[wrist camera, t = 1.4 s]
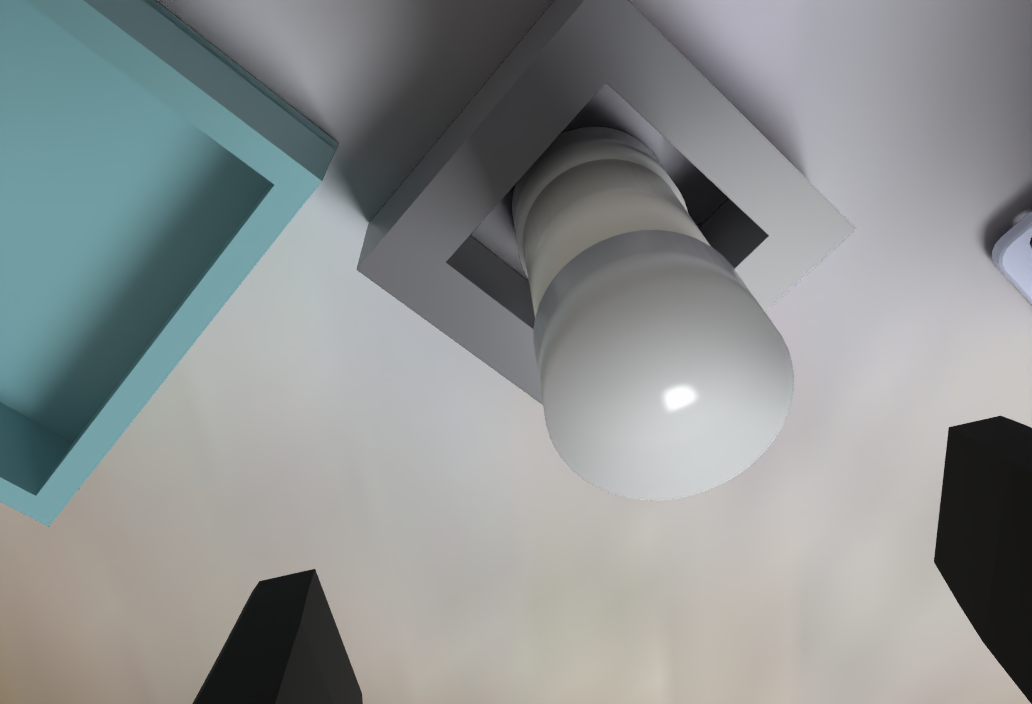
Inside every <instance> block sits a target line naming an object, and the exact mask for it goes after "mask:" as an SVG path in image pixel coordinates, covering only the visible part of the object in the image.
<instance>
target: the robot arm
mask: <svg viewBox="0 0 1032 704" xmlns="http://www.w3.org/2000/svg"><path fill="white" fill-rule="evenodd" d="M1031 237H1032V211H1031V212H1030V213H1029V214H1027V215H1026V216H1025V217H1024V218H1023V219H1022V220H1020V221H1019V222H1018V223H1017V224H1016V225H1015V226H1013V227H1012V228H1011V229H1010V230H1009V231H1008V232H1006V233H1005V234H1004V235H1003V236H1002V237H1001V238H1000V239H999V240H998V241H997V242H996V244H995V246H994V248H993V251H992V260H993V262H994V264H995V266H996V267H997V268H998V269H999V270H1000V271H1001V272H1002V273H1003V274H1004V276H1005V277H1006V278H1007V279H1008V280H1009V281H1010V282H1011V283H1012V284H1013V285H1014V286H1015V287H1016V288H1017V290H1018V291H1019V292H1020V293H1021V294H1022V295H1023V296H1024V297H1025V298H1026V299H1027V300H1028V301H1029V302H1030V304H1031V305H1032V244H1030V240H1031ZM934 563H935V564H936V566H937V568H938V569H939V571H940V573H941V574H942V576H943V578H944V580H945V581H946V583H947V585H948V586H949V588H950V590H951V591H952V593H953V595H954V597H955V598H956V600H957V602H958V603H959V605H960V607H961V608H962V610H963V611H964V613H965V614H966V616H967V618H968V619H969V621H970V622H971V624H972V625H973V627H974V629H975V630H976V632H977V633H978V635H979V636H980V638H981V640H982V641H983V642H984V644H985V645H986V646H987V648H988V649H989V650H990V652H991V653H992V654H993V655H994V657H995V658H996V659H997V661H998V662H999V663H1000V665H1001V666H1002V667H1003V668H1004V670H1005V671H1006V672H1007V673H1008V675H1009V676H1010V677H1011V678H1012V680H1013V681H1014V682H1015V684H1016V685H1017V686H1018V687H1019V689H1020V690H1021V691H1022V692H1023V694H1024V695H1025V696H1026V697H1027V699H1028V700H1029V701H1030V703H1031V704H1032V428H1031V427H1028V426H1026V425H1023V424H1021V423H1018V422H1016V421H1013V420H1011V419H1008V418H1005V417H1003V416H998V417H993V418H989V419H984V420H980V421H975V422H971V423H966V424H962V425H957V426H953V427H949V431H948V440H947V449H946V458H945V467H944V476H943V485H942V494H941V503H940V512H939V521H938V530H937V539H936V548H935V557H934ZM193 704H363V702H362V693H361V690H360V687H359V685H358V682H357V679H356V677H355V674H354V671H353V669H352V666H351V663H350V661H349V658H348V655H347V653H346V650H345V647H344V645H343V642H342V639H341V637H340V634H339V631H338V629H337V626H336V623H335V621H334V618H333V615H332V613H331V610H330V608H329V605H328V602H327V600H326V597H325V594H324V592H323V589H322V586H321V584H320V581H319V578H318V576H317V573H316V570H315V569H313V570H308V571H304V572H299V573H295V574H290V575H286V576H281V577H277V578H272V579H268V580H263V581H259V583H258V584H257V586H256V587H255V588H254V590H253V591H252V593H251V595H250V597H249V599H248V601H247V603H246V605H245V606H244V608H243V610H242V612H241V614H240V616H239V618H238V620H237V622H236V624H235V626H234V627H233V629H232V631H231V633H230V635H229V637H228V639H227V641H226V643H225V645H224V647H223V648H222V650H221V652H220V654H219V656H218V658H217V660H216V662H215V663H214V665H213V667H212V669H211V671H210V673H209V674H208V676H207V678H206V680H205V682H204V684H203V685H202V687H201V689H200V691H199V693H198V695H197V696H196V698H195V700H194V702H193Z"/></svg>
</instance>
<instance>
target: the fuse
mask: <svg viewBox="0 0 1032 704" xmlns="http://www.w3.org/2000/svg"><path fill="white" fill-rule="evenodd" d="M512 213H513V220H514V227H515V233H516V239H517V245H518V252H519V257H520V261H521V264H522V267H523V270H524V272H525V274H526V276H527V278H528V280H529V286H530V291H531V297H532V303H533V309H534V314H535V323H534V329H533V343H534V351H535V357H536V364H537V370H538V376H539V382H540V389H541V395H542V401H543V407H544V413H545V420H546V425H547V429H548V432H549V435H550V438H551V441H552V443H553V445H554V447H555V449H556V451H557V452H558V454H559V455H560V457H561V458H562V459H563V461H564V462H565V463H566V464H567V465H568V466H569V467H570V468H571V470H572V471H574V472H575V473H576V474H577V475H578V476H580V477H581V478H582V479H583V480H585V481H587V482H588V483H590V484H592V485H593V486H595V487H597V488H599V489H602V490H604V491H606V492H608V493H612V494H615V495H618V496H622V497H627V498H632V499H639V500H669V499H676V498H683V497H687V496H691V495H695V494H698V493H701V492H704V491H707V490H710V489H712V488H714V487H716V486H719V485H721V484H723V483H725V482H727V481H728V480H730V479H732V478H733V477H735V476H737V475H738V474H740V473H741V472H742V471H744V470H745V469H746V468H748V467H749V466H750V465H751V464H752V463H754V462H755V461H756V460H757V459H758V458H759V457H760V456H761V455H762V454H763V453H764V452H765V450H766V449H767V448H768V447H769V446H770V444H771V443H772V442H773V440H774V439H775V437H776V436H777V434H778V433H779V431H780V429H781V427H782V425H783V423H784V421H785V419H786V417H787V414H788V411H789V408H790V405H791V400H792V394H793V382H794V375H793V367H792V361H791V357H790V354H789V351H788V348H787V346H786V344H785V342H784V340H783V338H782V336H781V334H780V333H779V332H778V330H777V329H776V327H775V326H774V324H773V323H772V322H771V320H770V319H769V317H768V316H767V314H766V313H765V312H764V310H763V309H762V307H761V306H760V305H759V303H758V302H757V300H756V299H755V297H754V296H753V295H752V293H751V292H750V290H749V289H748V287H747V286H746V285H745V283H744V282H743V280H742V279H741V278H740V276H739V275H738V273H737V272H736V270H735V269H734V268H733V266H732V265H731V264H730V263H729V262H728V261H727V260H726V258H725V257H724V256H723V255H722V254H720V253H719V252H718V251H716V250H715V249H714V248H712V247H711V246H710V244H709V243H708V242H707V240H706V239H705V237H704V236H703V234H702V233H701V231H700V230H699V228H698V227H697V225H696V224H695V223H694V221H693V220H692V218H691V217H690V215H689V214H688V210H687V207H686V204H685V201H684V199H683V197H682V195H681V193H680V191H679V190H678V188H677V187H676V185H675V184H674V183H673V181H672V180H671V178H670V177H669V175H668V174H667V173H666V171H665V170H664V168H663V167H662V166H661V164H660V163H659V161H658V160H657V158H656V157H655V156H654V154H653V153H652V152H651V151H650V150H649V149H648V148H647V147H646V146H645V145H644V144H643V143H642V142H640V141H639V140H638V139H636V138H634V137H633V136H631V135H629V134H627V133H624V132H622V131H619V130H616V129H612V128H606V127H584V128H578V129H574V130H570V131H567V132H565V133H562V134H560V135H559V136H558V137H557V138H556V139H555V140H554V141H553V142H552V143H551V145H550V146H549V147H548V148H547V149H546V150H545V151H544V152H543V153H542V155H541V156H540V157H539V158H538V159H537V160H536V161H535V162H534V164H533V165H532V166H531V167H530V168H529V169H528V170H527V171H526V173H525V174H524V175H523V176H522V177H521V178H520V179H519V180H518V182H517V183H516V185H515V189H514V193H513V200H512Z"/></svg>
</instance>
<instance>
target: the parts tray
mask: <svg viewBox="0 0 1032 704" xmlns="http://www.w3.org/2000/svg"><path fill="white" fill-rule="evenodd" d="M338 144H339V143H337V142H336V141H335V140H333V139H332V138H331V137H330V136H328V135H327V134H326V133H324V132H323V131H322V130H321V129H319V128H318V127H317V126H316V125H314V124H313V123H312V122H310V121H309V120H308V119H307V118H305V117H304V116H303V115H301V114H300V113H299V112H298V111H296V110H295V109H294V108H293V107H291V106H290V105H289V104H287V103H286V102H285V101H284V100H282V99H281V98H280V97H278V96H277V95H276V94H275V93H273V92H272V91H271V90H270V89H268V88H267V87H266V86H264V85H263V84H262V83H261V82H259V81H258V80H257V79H255V78H254V77H253V76H252V75H250V74H249V73H248V72H247V71H245V70H244V69H243V68H241V67H240V66H239V65H238V64H236V63H235V62H234V61H232V60H231V59H230V58H229V57H227V56H226V55H225V54H224V53H222V52H221V51H220V50H218V49H217V48H216V47H215V46H213V45H212V44H211V43H209V42H208V41H207V40H206V39H204V38H203V37H202V36H201V35H199V34H198V33H197V32H195V31H194V30H193V29H192V28H190V27H189V26H188V25H186V24H185V23H184V22H183V21H181V20H180V19H179V18H178V17H176V16H175V15H174V14H172V13H171V12H170V11H169V10H167V9H166V8H165V7H163V6H162V5H161V4H160V3H158V2H157V1H156V0H0V502H2V503H4V504H6V505H8V506H10V507H11V508H13V509H15V510H17V511H19V512H21V513H23V514H25V515H27V516H29V517H31V518H33V519H35V520H37V521H39V522H41V523H42V524H44V525H46V526H48V527H49V526H50V525H51V523H52V522H53V521H54V520H55V518H56V517H57V516H58V514H59V513H60V512H61V511H62V509H63V508H64V507H65V506H66V504H67V503H68V502H69V501H70V499H71V498H72V497H73V496H74V494H75V493H76V492H77V490H78V489H79V488H80V487H81V485H82V484H83V483H84V482H85V480H86V479H87V478H88V477H89V475H90V474H91V473H92V471H93V470H94V469H95V468H96V466H97V465H98V464H99V463H100V461H101V460H102V459H103V458H104V456H105V455H106V454H107V452H108V451H109V450H110V449H111V447H112V446H113V445H114V444H115V442H116V441H117V440H118V439H119V437H120V436H121V435H122V433H123V432H124V431H125V430H126V428H127V427H128V426H129V425H130V423H131V422H132V421H133V420H134V418H135V417H136V416H137V414H138V413H139V412H140V411H141V409H142V408H143V407H144V406H145V404H146V403H147V402H148V401H149V399H150V398H151V397H152V395H153V394H154V393H155V392H156V390H157V389H158V388H159V387H160V385H161V384H162V383H163V382H164V380H165V379H166V378H167V376H168V375H169V374H170V373H171V371H172V370H173V369H174V368H175V366H176V365H177V364H178V363H179V361H180V360H181V359H182V357H183V356H184V355H185V354H186V352H187V351H188V350H189V349H190V347H191V346H192V345H193V344H194V342H195V341H196V340H197V338H198V337H199V336H200V335H201V333H202V332H203V331H204V330H205V328H206V327H207V326H208V325H209V323H210V322H211V321H212V319H213V318H214V317H215V316H216V314H217V313H218V312H219V311H220V309H221V308H222V307H223V306H224V304H225V303H226V302H227V301H228V299H229V298H230V297H231V295H232V294H233V293H234V292H235V290H236V289H237V288H238V287H239V285H240V284H241V283H242V282H243V280H244V279H245V278H246V276H247V275H248V274H249V273H250V271H251V270H252V269H253V268H254V266H255V265H256V264H257V263H258V261H259V260H260V259H261V257H262V256H263V255H264V254H265V252H266V251H267V250H268V249H269V247H270V246H271V245H272V244H273V242H274V241H275V240H276V238H277V237H278V236H279V235H280V233H281V232H282V231H283V230H284V228H285V227H286V226H287V225H288V223H289V222H290V221H291V219H292V218H293V217H294V216H295V214H296V213H297V212H298V211H299V209H300V208H301V207H302V206H303V204H304V203H305V202H306V200H307V199H308V198H309V197H310V195H311V194H312V193H313V192H314V190H315V189H316V188H317V187H318V185H319V184H320V183H321V181H322V180H323V177H324V175H325V173H326V171H327V169H328V166H329V164H330V162H331V160H332V157H333V155H334V153H335V151H336V149H337V146H338Z"/></svg>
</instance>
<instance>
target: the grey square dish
mask: <svg viewBox="0 0 1032 704" xmlns="http://www.w3.org/2000/svg"><path fill="white" fill-rule="evenodd" d="M605 83H607V84H608V85H609V86H610V87H611V88H612V89H613V90H614V91H616V92H617V93H618V94H619V95H620V96H621V97H622V98H623V99H624V100H625V101H626V102H627V103H628V104H629V105H630V106H632V107H633V108H634V109H635V110H636V111H637V112H638V113H639V114H640V115H641V116H642V117H643V118H644V119H645V120H646V121H647V122H649V123H650V124H651V125H652V126H653V127H654V128H655V129H656V130H657V131H658V132H659V133H660V134H661V135H662V136H663V137H665V138H666V139H667V140H668V141H669V142H670V143H671V144H672V145H673V146H674V147H675V148H676V149H677V150H678V151H679V152H681V153H682V154H683V155H684V156H685V157H686V158H687V159H688V160H689V161H690V162H691V163H692V164H693V165H694V166H695V167H696V168H698V169H699V170H700V171H701V172H702V173H703V174H704V175H705V176H706V177H707V178H708V179H709V180H710V181H711V182H712V183H714V184H715V185H716V186H717V187H718V188H719V189H720V190H721V191H722V192H723V193H724V194H725V195H726V196H727V197H728V198H729V199H728V200H727V201H726V202H725V203H724V204H723V205H721V206H720V207H719V208H718V209H717V210H716V211H715V212H714V213H713V214H712V215H711V216H710V217H709V218H708V219H707V220H706V221H705V222H704V223H703V224H702V225H701V226H700V227H699V230H700V231H701V233H702V234H703V236H704V237H705V239H706V240H707V242H708V243H709V244H710V246H711V247H712V248H714V249H715V250H716V251H718V252H719V253H720V254H722V255H723V256H724V257H725V258H726V260H727V261H728V262H729V263H730V264H731V265H732V266H733V268H734V269H735V270H736V272H737V273H738V275H739V276H740V278H741V279H742V280H743V282H744V283H745V285H746V286H747V287H748V289H749V290H750V292H751V293H752V295H753V296H754V297H755V299H756V300H757V302H758V303H759V305H760V306H761V307H762V309H763V310H764V312H766V311H767V310H768V309H770V308H771V307H772V306H773V305H774V304H775V303H776V302H777V301H778V300H779V299H780V298H782V297H783V296H784V295H785V294H786V293H787V292H788V291H789V290H790V289H791V288H792V287H794V286H795V285H796V284H797V283H798V282H799V281H800V280H801V279H802V278H803V277H804V276H806V275H807V274H808V273H809V272H810V271H811V270H812V269H813V268H814V267H815V266H816V265H818V264H819V263H820V262H821V261H822V260H823V259H824V258H825V257H826V256H827V255H828V254H830V253H831V252H832V251H833V250H834V249H835V248H836V247H837V246H838V245H839V244H840V243H842V242H843V241H844V240H845V239H846V238H847V237H848V236H849V235H850V234H851V233H852V232H854V231H855V230H856V229H857V228H856V227H855V226H854V225H853V224H852V223H851V222H850V221H849V220H848V219H847V218H846V217H845V216H844V215H843V214H842V213H841V212H840V211H839V210H838V209H837V208H836V207H835V206H834V205H833V204H832V203H831V202H830V201H829V200H828V199H827V198H826V197H825V196H824V195H823V194H822V193H821V192H820V191H819V190H818V189H817V188H816V187H814V186H813V185H812V184H811V183H810V182H809V181H808V180H807V179H806V178H805V177H804V176H803V175H802V174H801V173H800V172H799V171H798V170H797V169H796V168H795V167H794V166H793V165H792V164H791V163H790V162H789V161H788V160H787V159H786V158H785V157H784V156H783V155H782V154H781V153H780V152H779V151H778V150H777V149H776V148H775V147H774V146H773V145H772V144H771V143H770V142H769V141H768V140H767V139H766V138H765V137H764V136H763V135H762V134H761V133H760V132H759V131H758V130H757V129H756V128H755V127H754V126H753V125H752V124H751V123H750V122H749V121H748V120H747V119H746V118H745V117H744V116H743V115H742V114H741V113H740V112H739V111H738V110H737V109H736V108H735V107H734V106H733V105H732V104H731V103H730V102H729V101H728V100H727V99H726V98H725V97H724V96H723V95H722V94H721V93H720V92H719V91H718V90H717V89H716V88H715V87H714V86H713V85H712V84H711V83H710V82H709V81H708V80H707V79H706V78H705V77H704V76H703V75H702V74H701V73H700V72H699V71H698V70H697V69H696V68H695V67H694V66H693V65H692V64H691V63H690V62H689V61H688V60H687V59H686V58H685V57H684V56H683V55H682V54H681V53H680V52H679V51H678V50H677V49H676V48H675V47H674V46H673V45H672V44H671V43H670V42H669V41H668V40H667V39H666V38H665V37H664V36H663V35H662V34H661V33H660V32H659V31H658V30H657V29H656V28H655V27H654V26H653V25H652V24H651V23H650V22H649V21H648V20H647V19H646V18H645V17H644V16H643V15H642V14H641V13H640V12H639V11H638V10H637V9H636V8H635V7H634V6H633V5H632V4H631V3H630V2H629V1H628V0H554V1H553V2H552V4H551V5H550V6H549V7H548V8H547V10H546V11H545V12H544V13H543V14H542V16H541V17H540V18H539V19H538V20H537V22H536V23H535V24H534V25H533V26H532V28H531V29H530V30H529V31H528V32H527V34H526V35H525V36H524V37H523V38H522V40H521V41H520V42H519V43H518V44H517V46H516V47H515V48H514V49H513V50H512V52H511V53H510V54H509V55H508V56H507V58H506V59H505V60H504V61H503V62H502V64H501V65H500V66H499V67H498V69H497V70H496V71H495V72H494V73H493V75H492V76H491V77H490V78H489V79H488V81H487V82H486V83H485V84H484V85H483V87H482V88H481V89H480V90H479V91H478V93H477V94H476V95H475V96H474V97H473V99H472V100H471V101H470V102H469V103H468V105H467V106H466V107H465V108H464V109H463V111H462V112H461V113H460V114H459V115H458V117H457V118H456V119H455V120H454V121H453V123H452V124H451V125H450V126H449V127H448V129H447V130H446V131H445V132H444V133H443V135H442V136H441V137H440V138H439V139H438V141H437V142H436V143H435V144H434V145H433V147H432V148H431V149H430V150H429V151H428V153H427V154H426V155H425V156H424V157H423V159H422V160H421V161H420V162H419V163H418V165H417V166H416V167H415V168H414V169H413V171H412V172H411V173H410V174H409V176H408V177H407V178H406V179H405V180H404V182H403V183H402V184H401V185H400V186H399V188H398V189H397V190H396V191H395V192H394V194H393V195H392V196H391V197H390V198H389V200H388V201H387V202H386V203H385V204H384V206H383V207H382V208H381V209H380V210H379V212H378V213H377V214H376V215H375V216H374V218H373V219H372V220H371V221H370V222H369V224H368V228H367V231H366V235H365V239H364V243H363V247H362V251H361V254H360V258H359V262H358V266H357V270H358V271H359V272H360V273H362V274H363V275H365V276H366V277H367V278H369V279H370V280H371V281H373V282H374V283H376V284H377V285H378V286H380V287H381V288H382V289H384V290H385V291H387V292H388V293H389V294H391V295H392V296H393V297H395V298H396V299H398V300H399V301H400V302H402V303H403V304H405V305H406V306H407V307H409V308H410V309H411V310H413V311H414V312H416V313H417V314H418V315H420V316H421V317H422V318H424V319H425V320H427V321H428V322H429V323H431V324H432V325H433V326H435V327H436V328H438V329H439V330H440V331H442V332H443V333H444V334H446V335H447V336H449V337H450V338H451V339H453V340H454V341H455V342H457V343H458V344H460V345H461V346H462V347H464V348H465V349H467V350H468V351H469V352H471V353H472V354H473V355H475V356H476V357H478V358H479V359H480V360H482V361H483V362H484V363H486V364H487V365H489V366H490V367H491V368H493V369H494V370H495V371H497V372H498V373H500V374H501V375H502V376H504V377H505V378H506V379H508V380H509V381H511V382H512V383H513V384H515V385H516V386H517V387H519V388H520V389H522V390H523V391H524V392H526V393H527V394H528V395H530V396H531V397H533V398H534V399H535V400H537V401H538V402H540V403H541V404H542V405H543V401H542V395H541V389H540V382H539V376H538V370H537V364H536V357H535V351H534V343H533V329H534V323H535V314H534V309H533V303H532V297H531V291H530V286H529V281H527V280H526V279H525V278H524V277H522V276H521V275H520V274H519V273H517V272H516V271H515V270H513V269H512V268H511V267H510V266H508V265H507V264H506V263H505V262H503V261H502V260H501V259H500V258H498V257H497V256H496V255H494V254H493V253H492V252H491V251H489V250H488V249H487V248H486V247H484V246H483V245H482V244H481V243H479V242H478V241H477V240H475V239H474V238H473V237H472V236H470V234H471V233H472V232H473V231H474V230H475V229H476V228H477V227H478V225H479V224H480V223H481V222H482V221H483V220H484V219H485V218H486V216H487V215H488V214H489V213H490V212H491V211H492V210H493V209H494V207H495V206H496V205H497V204H498V203H499V202H500V201H501V200H502V198H503V197H504V196H505V195H506V194H507V193H508V192H509V191H510V189H511V188H512V187H513V186H514V185H515V184H516V183H517V182H518V180H519V179H520V178H521V177H522V176H523V175H524V174H525V173H526V171H527V170H528V169H529V168H530V167H531V166H532V165H533V164H534V162H535V161H536V160H537V159H538V158H539V157H540V156H541V155H542V153H543V152H544V151H545V150H546V149H547V148H548V147H549V146H550V145H551V143H552V142H553V141H554V140H555V139H556V138H557V137H558V136H559V134H560V133H561V132H562V131H563V130H564V129H565V128H566V127H567V125H568V124H569V123H570V122H571V121H572V120H573V119H574V118H575V116H576V115H577V114H578V113H579V112H580V111H581V110H582V109H583V107H584V106H585V105H586V104H587V103H588V102H589V101H590V100H591V98H592V97H593V96H594V95H595V94H596V93H597V92H598V91H599V89H600V88H601V87H602V86H603V85H604V84H605Z"/></svg>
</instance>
